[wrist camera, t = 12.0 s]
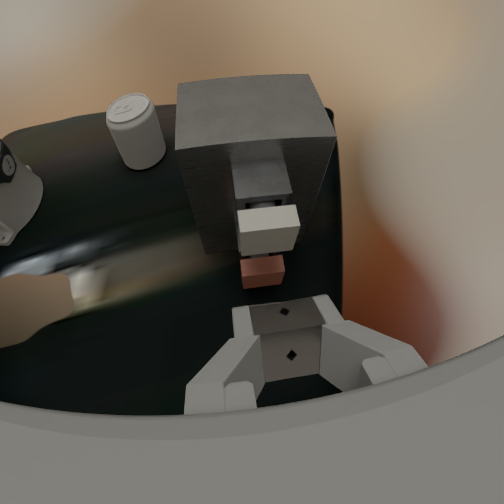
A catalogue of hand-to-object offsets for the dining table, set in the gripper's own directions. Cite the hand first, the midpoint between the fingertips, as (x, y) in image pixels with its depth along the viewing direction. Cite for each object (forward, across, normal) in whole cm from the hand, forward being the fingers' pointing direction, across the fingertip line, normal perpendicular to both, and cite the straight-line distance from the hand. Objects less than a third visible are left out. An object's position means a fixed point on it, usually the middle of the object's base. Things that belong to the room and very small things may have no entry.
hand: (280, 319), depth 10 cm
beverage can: (+49, -15, +4) cm, 51 cm away
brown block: (+28, +2, -11) cm, 30 cm away
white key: (+20, +2, -3) cm, 21 cm away
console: (+36, +2, -8) cm, 37 cm away
